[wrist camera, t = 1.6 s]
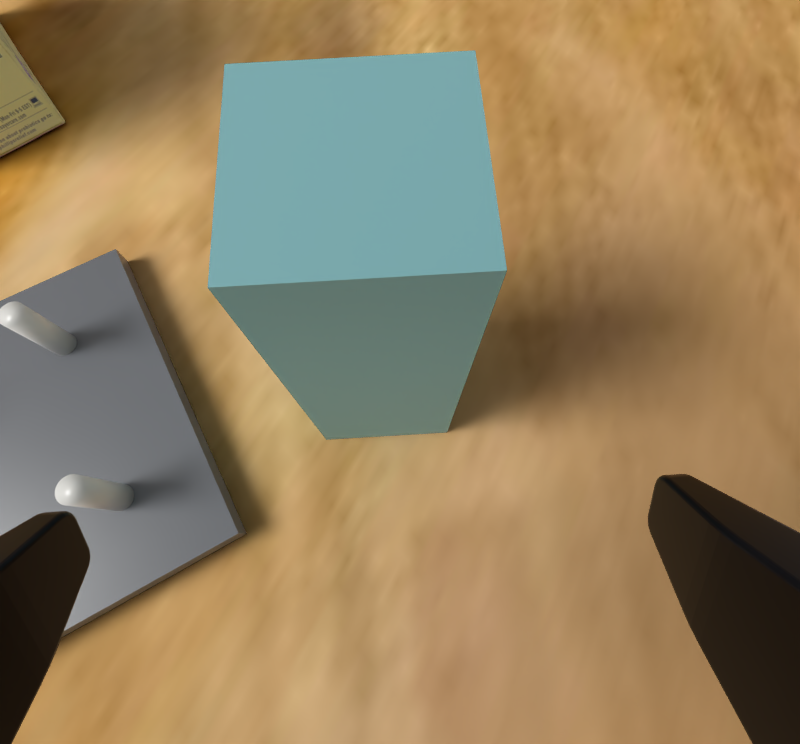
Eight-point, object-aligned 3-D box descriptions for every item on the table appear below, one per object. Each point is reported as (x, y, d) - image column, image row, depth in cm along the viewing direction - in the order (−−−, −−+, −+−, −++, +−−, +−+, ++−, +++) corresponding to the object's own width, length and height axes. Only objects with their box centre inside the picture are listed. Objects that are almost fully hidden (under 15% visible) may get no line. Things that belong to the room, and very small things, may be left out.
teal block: (446, 432, 21) (506, 270, 8) (326, 439, 21) (207, 287, 8) (437, 322, 22) (475, 50, 10) (325, 328, 22) (224, 64, 10)
